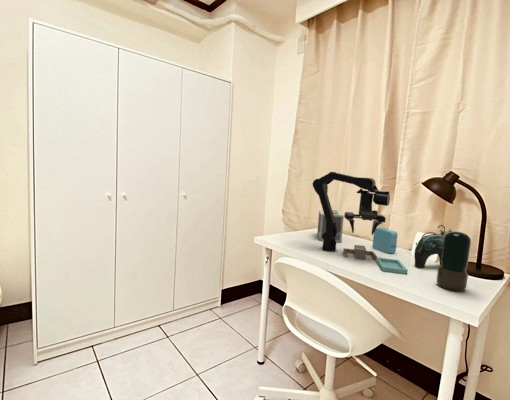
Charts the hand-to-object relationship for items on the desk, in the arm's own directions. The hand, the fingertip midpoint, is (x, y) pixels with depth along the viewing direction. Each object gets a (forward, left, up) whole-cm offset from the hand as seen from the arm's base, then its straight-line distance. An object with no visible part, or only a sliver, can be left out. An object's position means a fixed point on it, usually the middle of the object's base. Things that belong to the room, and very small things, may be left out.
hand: (362, 233), depth 142 cm
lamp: (+30, -28, -12) cm, 43 cm away
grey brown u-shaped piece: (0, +1, -12) cm, 12 cm away
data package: (+15, +17, -12) cm, 25 cm away
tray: (+12, -12, -12) cm, 21 cm away
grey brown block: (0, 0, -12) cm, 12 cm away
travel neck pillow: (+33, -3, -12) cm, 35 cm away
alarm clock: (-14, +33, -12) cm, 38 cm away
